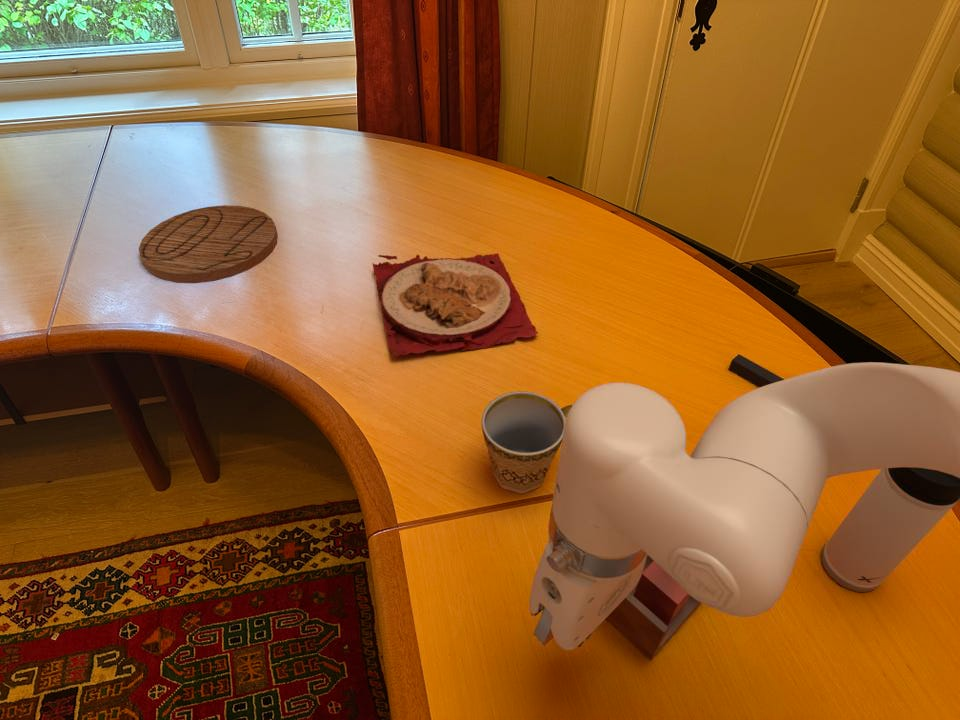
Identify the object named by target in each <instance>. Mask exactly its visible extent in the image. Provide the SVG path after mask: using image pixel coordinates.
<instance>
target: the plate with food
mask: <svg viewBox="0 0 960 720" xmlns="http://www.w3.org/2000/svg"><path fill="white" fill-rule="evenodd" d="M415 255H416V256H415V257H413V258H410V259H409V260H405V261H404V262H399V263H397V262H394V263H391V262H389V261H392V260H398V257H397V255H388V254H387V255H383V254H379V255H377V257H379V258H383V259H386V260H388V261H386V262H381V261H379V263H377V264H376V263H375V264H374V263H372V270H373V275H374V276H375V279H376V280H375V284H376V286H375V287H376V289H377V294H378V299H379V303H380V309H381V312H382V319H383V324H384V328H385V334H386V338H387V339H386V340H387V344H388V349H389V353H390V354H393V355H394V356H395V357H399V356H400V355H401V356H409V354H422V353H423V354H425V353H426V352H430V351H436V352H443V351H450V350H452V351H453V350H457V349H460V348H462V349H460V351H461V352H463V351H465V352H466V351H469V350H470V351H474V350H479V349H489V348H495V345H499V344H505V343H506V344H507V343H512V342H514V341H516V340H517V338H525V339H526V338H532V337H535V336H536V335H538V333H539V332H538V331H537V330H536V328H537V327H536V326H535V325H533V323H532V321H531V319H530V317H529V315H528V313H527V309H526V306H525V303H524V302H523V301H522V299H521V295H520V294H519V292H518V290H517V288H516V287H515V284H514V283H513V281H512V278H511V276H510V273H509V271H507V269H506V266H505V264H504V262H503V261H502V260H501V257H500V254H499V252H496V253H493V254H492V253H490V254H485V255H482V254H476V255H475V256H471V257H460V258H452V257H444V258H443V257H441V258H430V257H427V256H426V255H425V256H424V257H423V258H421V256H420V254H415ZM491 262H492V263H493V264H492V263H491Z"/></svg>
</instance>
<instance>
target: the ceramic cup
mask: <svg viewBox="0 0 960 720" xmlns="http://www.w3.org/2000/svg"><path fill="white" fill-rule="evenodd" d="M572 405H573V404H569V405H565V406H564V407H562V408H560V406H559V405H558V404H557V403H556V402H555V401H553V400H552V399H550V398H549V397H547V396H545V395H542V394H539V393H537V392H533V391H523V390H522V391H521V390H520V391H519V390H518V391H512V392H511V391H510V392H507V393H503V394H501V395H498V396H497V397H496V398H493V400H491V401H489V403H488V404H487V405H486V407H485V408H484V411H483V413H482V416H481V431H482V435H483V439H484V444H485V446H486V449H487V454H488V457H489V461H490V465H491V470H492V473H493V475H494V477H495V479H496V480H497V482H498V484H499V486H500V487H501V489H504V490H507V491H510V492H513V493H517V494H521V495H523V494H526V493H528V492H532V491H534V490H536V489H538V488H540V487H542V485H543V483H544V480H545V479H546V476H547V474H548V470H549V469H550V466H551V464H552V462H553V460H554V459H555V457H556V455H557V453H558V451H559V450H560V448H561V445H562V439H563V433H564V427H565V423H566V419H567V415H568V413H569V410H570V409H571V407H572Z"/></svg>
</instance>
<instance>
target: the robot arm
mask: <svg viewBox="0 0 960 720" xmlns="http://www.w3.org/2000/svg"><path fill="white" fill-rule="evenodd" d="M784 379H785V378H784ZM571 405H572V407H571V409H570V410H569V413H568V415H567V417H566V418H565V419H566V423H565V427H564V433H563V439H562V443H561V445H560V453H559V458H558V464H557V472H556V478H555V483H554V489H553V496H552V502H551V508H550V514H549V521H548V526H547V527H548V529H547V535H548V541H547V543H546V544H545V547H544V549H543V551H542V554H541V557H540V559H539V562H538V565H537V568H536V570H535V574H534V577H533V580H532V584H531V589H530V594H529V601H528V603H529V605H528V609H529V615H530V616H534V617H536V616H538V615H539V614H540V613H541V614H540V616H539V619H538V621H537V624H536V626H535V629H534V631H533V635H532V636H534V637H535V638H536V639H537V640H538V641H539V642H540V644H542V645H543V646H546V645H547V644H548V643H549V642H551V640H553V639H554V641H555V643H556V644H557V645H558V646H559V647H561V648H562V649H563V650H564V651H572V650H575V649H576V648H577V647H578V648H580V647H581V646H582V645H583V644H584V643H585V640H588V639H590V637H591V636H592V633H593V632H595V630H596V629H598V627H599V626H600V625H601V624H602V623H603V622H604V621H605V620H607V619H606V618H607V617H608V616H609V615H610V613H611V612H612V611H613V610H614V609H615V608H616V607H617V606H618V605H619V604H620V603H621V602H622V601H623V600H624V599H625V598H626V597H627V596H628V594H629V593H630V592H631V591H632V590H633V589H634V587H635V586H636V585H637V583H638V582H639V580H640V577H641V574H642V571H643V568H644V565H645V562H646V558H647V555H649V556H650V557H651V558H652V559H653V560H654V561H655V562H656V563H657V564H658V565H659V566H660V567H661V568H662V569H663V570H664V571H665V572H666V573H667V574H669V575H670V576H671V577H672V578H673V579H674V580H675V581H676V582H677V583H678V584H679V585H680V586H681V587H682V588H683V589H684V590H685V591H686V592H687V593H688V594H689V595H690V596H692V597H693V598H694V599H696V600H697V601H699V602H701V604H702V605H704V606H706V607H709V608H712V609H714V610H716V611H719V612H721V613H724V614H726V615H729V616H734V617H740V618H750V617H755V616H756V617H757V616H759V615H762V614H763V613H766V612H768V611H769V610H770V609H772V608H773V607H774V606H775V605H776V603H777V602H778V601H779V600H780V599H781V597H782V595H783V593H784V591H785V589H786V588H787V585H788V583H789V580H790V578H791V575H792V572H793V570H794V568H795V565H796V561H797V559H798V556H799V554H800V551H801V548H802V546H803V543H804V540H805V538H806V535H807V532H808V529H809V527H810V524H811V522H812V519H813V516H814V514H815V511H816V509H817V506H818V504H819V500H820V497H821V495H822V493H823V490H824V488H825V485H826V482H827V480H828V479H830V478H833V477H837V476H841V475H849V474H854V473H861V472H868V471H876V470H881V469H884V468H897V467H913V468H925V469H931V470H938V471H941V472H944V473H948V474H951V475H954V476H956V477H958V478H960V372H959V371H956V370H951V369H946V368H940V367H934V366H924V365H913V364H901V363H892V362H891V363H890V362H877V361H875V362H874V361H873V362H872V361H868V362H851V363H844V364H839V365H832V366H828V367H824V368H821V369H817V370H813V371H810V372H806V373H802V374H799V375H795V376H793V377H789V378H786V379H785V380H782V381H778V382H775V383H772V384H769V385H766V386H763V387H757V388H755V389H752V390H750V391H748V392H745V393H743V394H741V395H739V396H738V397H736V398H735V399H733V400H732V401H730V402H728V403H727V404H725V405H724V406H723V407H722V408H721V409H720V410H719V411H718V412H717V413H716V414H715V416H713V418H712V419H711V421H710V422H709V424H708V425H707V427H706V429H705V430H704V432H703V434H702V435H701V437H700V438H699V440H698V442H697V443H696V445H695V447H694V449H693V450H692V452H691V454H690V455H689V454H688V452H687V449H686V448H687V432H686V427H685V424H684V421H683V419H682V417H681V415H680V414H679V412H678V410H676V409H677V408H675V407H674V405H673V404H672V403H671V402H670V401H669V400H668V399H666V398H665V397H664V396H662V395H661V394H660V393H658V392H656V391H655V390H653V389H651V388H647V387H645V386H642V385H639V384H636V383H631V382H630V383H629V382H607V383H603V384H599V385H597V386H594V387H592V388H590V389H588V390H586V391H585V392H583V393H582V394H580V395H579V397H578V398H576V400H575V401H574V402H573V403H572V404H571Z"/></svg>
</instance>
